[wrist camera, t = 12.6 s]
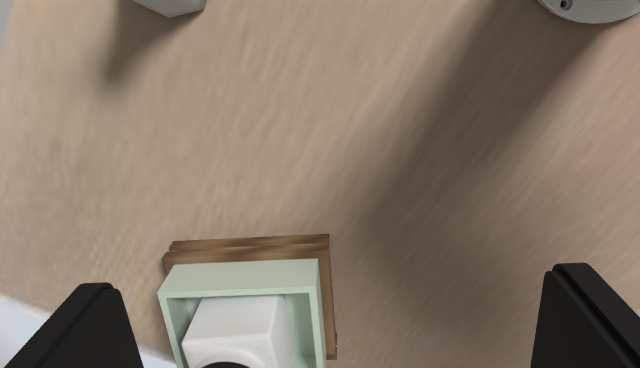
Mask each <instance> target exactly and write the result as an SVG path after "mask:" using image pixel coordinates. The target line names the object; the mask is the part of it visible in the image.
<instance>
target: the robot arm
mask: <svg viewBox="0 0 640 368" xmlns="http://www.w3.org/2000/svg"><path fill="white" fill-rule="evenodd" d="M537 1H538V2H539V3H540V4H541V5H542V6H544V7H545V8H546V9H547V10H548V11H550V12H551V13H553V14H555V15H557V16H559V17H561V18H563V19H566V20H570V21H574V22H579V23H591V24H595V23H609V22H613V21H617V20H621V19H625V18H628V17H630V16H632V15H634V14H637V13H639V12H640V0H537ZM561 1H563V2H564V5H563V6H562V7H560V4H561ZM4 368H144V367H143V364H142V360H141V357H140V354H139V351H138V347H137V344H136V341H135V338H134V334H133V331H132V328H131V325H130V321H129V318H128V315H127V312H126V308H125V305H124V302H123V299H122V295H121V293H120V291H119V290H118V289H114V288H113V286H112V285H111V284H110V283H107V282H104V283H84V284H80V285H79V286H78V287H77V288H76V289H75V290H74V291H73V292H72V293H71V294H70V296H69V297H68V298H67V299H66V300H65V301H64V302H63V303H62V304H61V305H60V307H59V308H58V309H57V310H56V311H55V312H54V313H53V314H52V315H51V316H50V318H49V319H48V320H47V321H46V322H45V323H44V324H43V325H42V326H41V327H40V329H39V330H38V331H37V332H36V333H35V334H34V335H33V337H31V338H30V340H29V341H28V342H27V343H26V344H25V345H24V346H23V347H22V348H21V350H20V351H19V352H18V353H17V354H16V355H15V356H14V357H13V358H12V359H11V360H10V362H9V363H8V364H7V365H6V366H5V367H4ZM531 368H640V317H639V316H638V315H637V314H636V313H635V312H634V311H633V310H632V309H631V308H630V307H629V306H628V305H627V304H626V303H625V301H624V300H623V299H622V298H621V297H620V296H619V295H618V294H617V293H616V292H615V291H614V290H613V289H612V288H611V287H610V286H609V285H608V284H607V283H606V282H605V281H604V280H603V279H602V278H601V276H600V275H599V274H598V273H597V272H596V271H595V270H594V269H593V268H592V267H591V266H590V265H588V264H587V263H564V264H556V265H555V266H554V267H553V269H552V271H547V272H546V273H545V276H544V281H543V288H542V295H541V301H540V308H539V314H538V321H537V327H536V334H535V341H534V347H533V354H532V360H531Z"/></svg>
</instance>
